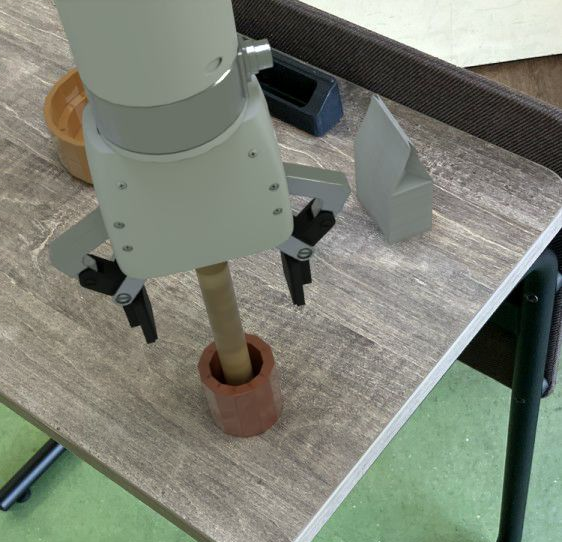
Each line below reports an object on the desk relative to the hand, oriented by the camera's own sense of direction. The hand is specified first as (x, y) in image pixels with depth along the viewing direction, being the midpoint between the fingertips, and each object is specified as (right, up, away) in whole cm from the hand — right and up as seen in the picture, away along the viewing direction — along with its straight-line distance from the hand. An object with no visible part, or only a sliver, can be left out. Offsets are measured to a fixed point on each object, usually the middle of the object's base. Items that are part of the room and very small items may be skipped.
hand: (222, 307), depth 60 cm
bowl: (-11, +17, +28) cm, 34 cm away
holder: (+1, -7, +10) cm, 12 cm away
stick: (+1, -7, +10) cm, 12 cm away
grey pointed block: (+13, +9, +20) cm, 25 cm away
